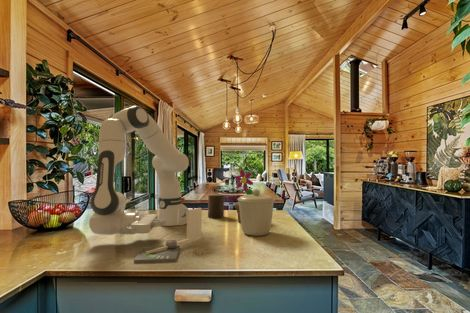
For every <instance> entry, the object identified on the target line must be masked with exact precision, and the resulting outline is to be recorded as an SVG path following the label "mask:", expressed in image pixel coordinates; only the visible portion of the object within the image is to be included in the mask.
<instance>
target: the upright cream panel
mask: <svg viewBox="0 0 470 313" xmlns="http://www.w3.org/2000/svg"><path fill="white" fill-rule="evenodd" d="M202 209H203V208H202V207H197V208H189V210H187V223H186V238H183V239H179V240H176V239H170V240H169V239H168V240H166V241H165V246H164V247H161V248H157V249H154V250H150V251H146V252H145V254H148V253H152V252H155V251H159V250H162V249H166V248H176V247H177V246H182V245H186V244H189V243H193V242H196V241H198V240H202V224H203V222H202V217H203V216H202V212H203V210H202Z"/></svg>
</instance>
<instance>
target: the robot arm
mask: <svg viewBox="0 0 470 313" xmlns="http://www.w3.org/2000/svg"><path fill="white" fill-rule="evenodd" d="M133 132H137V135H138V136H139V138H140V139H141V140H142V142H143V143H144V145H145V146H146V148H147V149H148V151H149V152H151V153H152V154H154V156H153V158H152V160H151V165H152V167H153V168H154V170H155V172H156V174H157V180H158V185H159V188H158V189H159V197H158V199H157V200H158V201H157V202H158V208H157V214H155V213H141V212H140V211H139V212H125V210H126V205H127V199H126V195H124V194H123V193H122V192H120V191H117V190H116V189H115V184H114V183H115V172H116V166H117V165H118V163H121V162H122V161H123V160H124V159H125V156H126V151H127V150H126V149H127V147H126V146H127V144H126V143H127V142H126V135H127V134H130V133H133ZM97 158H98V160H97V170H96V182H95V189H94V192H93V194H92V196H91V198H90V207H91V209H92V211H93V213H92V214H91V216H90V217H89V221H88V225H89V229H90V230H91V232H92V233H93V234H96V235H100V236H101V235H102V236H113V235H116V234H117V235H135V234H149V233H150V232H151V231H152V230H153V229H154V228H157V227H168V226H183V225H187V210H190V208H188V207H187V206H186V205H185V204H183V202H184V201H186V197H185V196H184V197H183V196H181V183H180V181H179V180H178V178H177V176H176V173H182V172H185V171H186V170H187V168H188V167H189V164H190V162H189V161H190V160H189V158H188V156H187V155H186V154H185V153H183V152H182V151H180V150H178V148H176V147H175V146H174V145H173V144H172V143H171V142H170V141H169V139H168V138H167V136H166V135H165V134H164V132H163V130H162V129H161V127H160V126H159V125H158V123H157V122H156V120H155V119H154V118H153V117H152V116H151V115H150V114H148V112H147V111H146V110H145V109H144V107H142V106H140V105H132V106H130V107H127V108H123V109H121V110H120V111H117V112H115V113H113V114H111V115H110V116H109V117H108V118H107V119H104V120H103V121H102V122H101V123H100V128H99V133H98V157H97Z"/></svg>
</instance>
